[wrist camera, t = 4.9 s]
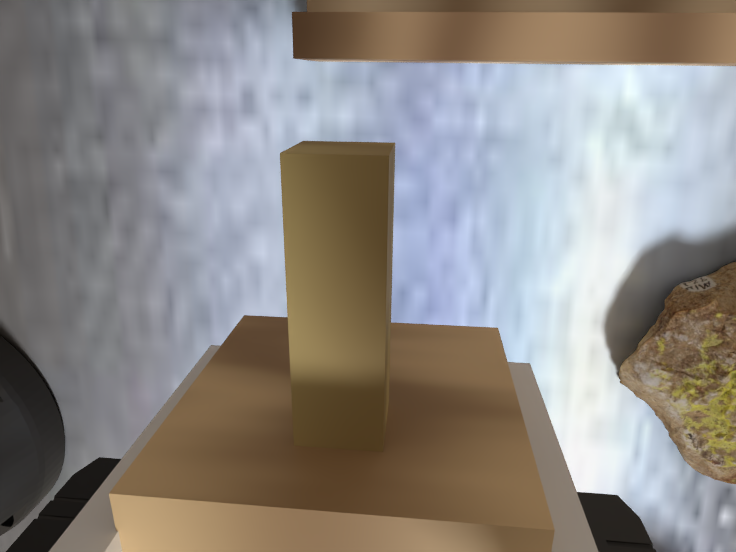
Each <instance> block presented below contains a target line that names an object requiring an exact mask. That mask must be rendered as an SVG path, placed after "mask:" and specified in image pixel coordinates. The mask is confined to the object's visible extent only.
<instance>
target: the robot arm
mask: <svg viewBox="0 0 736 552" xmlns="http://www.w3.org/2000/svg"><path fill="white" fill-rule="evenodd" d="M220 347H221V346H215V345H211V346H210V347H209V348H208V350H207V351H206V352H205V354H204V355H203V356H202V357H201V359H200V360H199V361H198V362H197V364H196V365H195V366H194V368H193V369H192V370H191V371H190V373H189V374H188V375H187V376H186V378H185V379H184V380H183V382H182V383H181V384H180V385H179V387H178V388H177V389H176V390H175V392H174V393H173V394H172V396H171V397H170V398H169V399H168V401H167V402H166V403H165V404H164V406H163V407H162V408H161V410H160V411H159V412H158V413H157V415H156V416H155V417H154V418H153V420H152V421H151V422H150V424H149V425H148V426H147V427H146V429H145V430H144V431H143V432H142V434H141V435H140V436H139V438H138V439H137V440H136V441H135V443H134V444H133V445H132V446H131V448H130V449H129V450H128V451H127V453H126V454H125V455H124V457H123V458H122V459H113V458H100V457H99V458H98V459H96V460H95V461H93V462H92V463H90V464H89V465H87V466H86V467H84V468H83V469H81V470H80V471H78V472H77V473H75V474H74V475H73V476H72V477H71V478H70V479H69V480H68V481H67V483H66V484H65V485H64V486H63V487H62V488H61V489H60V491H59V492H58V493H57V494H56V495H55V496H54V500H53V501H50V502H49V503H48V504H47V505H46V506H45V508H44V509H43V510H42V511H41V512H40V513H39V517H38V519H34V520H33V521H32V522H31V524H30V525H29V526H28V527H27V528H26V529H25V530H24V532H23V533H22V534H21V535H20V536H19V537H18V538H17V540H16V541H15V542H14V543H13V544H12V545H11V546H10V548H9V549H8V550H7V551H6V552H122V548H121V542H120V537H119V532H118V531H116V528H115V523H114V518H113V513H112V508H111V503H110V497H109V493H110V491H111V490H112V489H113V487H114V486H115V485H116V483H117V482H118V481H119V479H120V478H121V477H122V475H123V474H124V473H125V472H126V470H127V469H128V468H129V466H130V465H131V464H132V462H133V461H134V460H135V458H136V457H137V456H138V454H139V453H140V452H141V450H142V449H143V448H144V447H145V445H146V444H147V443H148V441H149V440H150V439H151V437H152V436H153V435H154V433H155V432H156V431H157V429H158V428H159V427H160V426H161V424H162V423H163V422H164V420H165V419H166V418H167V416H168V415H169V414H170V412H171V411H172V410H173V408H174V407H175V406H176V404H177V403H178V402H179V401H180V399H181V398H182V397H183V395H184V394H185V393H186V391H187V390H188V389H189V387H190V386H191V385H192V383H193V382H194V381H195V379H196V378H197V377H198V376H199V374H200V373H201V372H202V370H203V369H204V368H205V366H206V365H207V364H208V362H209V361H210V360H211V358H212V357H213V356H214V354H215V353H216V352H217V351H218V349H219V348H220ZM508 366H509V369H510V373H511V376H512V380H513V383H514V387H515V391H516V394H517V398H518V401H519V405H520V408H521V412H522V415H523V419H524V423H525V426H526V430H527V433H528V437H529V440H530V444H531V447H532V451H533V454H534V458H535V462H536V465H537V469H538V472H539V476H540V479H541V483H542V486H543V490H544V494H545V497H546V501H547V504H548V508H549V511H550V515H551V518H552V522H553V525H554V529H555V532H554V538H553V544H552V551H551V552H656V550H655V549H653V546H652V545H653V544H652V542H651V540H650V538H649V536H648V534H647V532H646V530H645V527H644V525H643V523H642V521H641V519H640V518H639V517H638V516H637V515H636V514H635V513H634V512H633V511H632V510H631V509H630V508H629V507H628V506H627V505H626V504H625V502H624V501H623V500H622V499H621V498H620V497H619V496H618V495H608V494H595V493H582V492H576V489H575V486H574V483H573V481H572V478H571V475H570V472H569V470H568V467H567V464H566V461H565V459H564V456H563V453H562V450H561V448H560V445H559V442H558V439H557V437H556V434H555V431H554V429H553V426H552V423H551V420H550V418H549V415H548V412H547V409H546V407H545V404H544V401H543V398H542V396H541V393H540V390H539V387H538V385H537V382H536V379H535V376H534V374H533V371H532V368H531V365H530V363H514V362H508ZM64 456H65V437H64V430H63V425H62V421H61V417H60V414H59V411H58V409H57V406H56V404H55V402H54V400H53V398H52V395H51V393H50V392H49V390H48V388H47V387H46V385H45V383H44V382H43V380H42V379H41V377H40V376H39V375H38V373H37V372H36V371H35V369H34V368H33V367H32V366H31V365H30V363H29V362H28V361H27V360H26V359H25V358H24V357H23V356H22V355H21V354H20V353H19V352H18V351H17V350H16V349H15V348H14V347H13V346H12V345H11V344H9V343H8V342H7V341H6V340H5V339H3V338H2V337H1V336H0V535H2V534H4V533H5V532H7V531H9V530H10V529H12V528H13V527H15V526H16V525H17V524H18V523H20V522H21V521H22V520H23V519H24V518H25V517H26V516H27V515H28V514H29V513H30V512H31V511H32V510H33V509H34V508H35V507H36V506H37V505H38V503H39V502H40V501H41V500H42V499H43V498H44V497H45V496H46V495H47V494H48V492H49V491H50V490H51V489H52V488H53V486H54V485H55V483H56V481H57V479H58V477H59V475H60V473H61V470H62V466H63V462H64Z"/></svg>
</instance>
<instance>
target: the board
mask: <svg viewBox="0 0 736 552" xmlns="http://www.w3.org/2000/svg"><path fill="white" fill-rule="evenodd" d="M292 27H293V58H295V59H303V60H311V61H331V62H421V63H510V64H600V65H690V66H736V0H307V12H292Z"/></svg>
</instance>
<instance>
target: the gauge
mask: <svg viewBox="0 0 736 552" xmlns="http://www.w3.org/2000/svg"><path fill="white" fill-rule="evenodd" d="M280 165H281V186H282V207H283V228H284V249H285V270H286V292H287V313H288V318H287V317H267V316H246V315H244V316H243V318H242V319H241V320H240V322H239V323H238V324H237V326H236V327H235V328H234V329H233V331H232V332H231V333H230V335H229V336H228V337H227V339H226V340H225V341H224V343H223V344H222V345H221V347H220V348H219V349H218V351H217V352H216V353H215V354H214V356H213V357H212V358H211V360H210V361H209V362H208V364H207V365H206V366H205V368H204V369H203V370H202V372H201V373H200V374H199V376H198V377H197V378H196V379H195V381H194V382H193V383H192V385H191V386H190V387H189V389H188V390H187V391H186V393H185V394H184V395H183V397H182V398H181V399H180V401H179V402H178V403H177V404H176V406H175V407H174V408H173V410H172V411H171V412H170V414H169V415H168V416H167V418H166V419H165V420H164V422H163V423H162V424H161V426H160V427H159V428H158V429H157V431H156V432H155V433H154V435H153V436H152V437H151V439H150V440H149V441H148V443H147V444H146V445H145V447H144V448H143V449H142V450H141V452H140V453H139V454H138V456H137V457H136V458H135V460H134V461H133V462H132V464H131V465H130V466H129V468H128V469H127V470H126V472H125V473H124V474H123V475H122V477H121V478H120V479H119V481H118V482H117V483H116V485H115V486H114V487H113V489H112V490H111V491H110V493H109V497H110V503H111V508H112V513H113V518H114V523H115V528H116V531H118V532H119V537H120V542H121V548H122V552H551V551H552V544H553V538H554V532H555V529H554V525H553V522H552V518H551V515H550V511H549V508H548V504H547V501H546V497H545V494H544V490H543V486H542V483H541V479H540V476H539V472H538V469H537V465H536V462H535V458H534V454H533V451H532V447H531V444H530V440H529V437H528V433H527V430H526V426H525V423H524V419H523V415H522V412H521V408H520V405H519V401H518V398H517V394H516V391H515V387H514V383H513V380H512V376H511V373H510V369H509V366H508V362H507V359H506V355H505V352H504V348H503V344H502V341H501V337H500V334H499V330H498V328H490V327H469V326H449V325H429V324H409V323H391V296H392V254H393V212H394V170H395V143H378V142H326V141H302V142H300V143H298V144H297V145H295V146H293V147H291V148H289V149H287V150H285V151H283V152H282V153H280Z"/></svg>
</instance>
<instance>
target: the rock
mask: <svg viewBox="0 0 736 552" xmlns="http://www.w3.org/2000/svg"><path fill="white" fill-rule="evenodd" d="M664 302H665V308H664V310H663V311H662V313H661V314H660V315H659V316H658V319H657V321H656V323H655V325H653V326H651V327H650V329H649V331H648V333H647V334H646V335H645V336H644V337H643V338H642V340H641V341H640V342H639V343H638V346H637V348H636V351H635V352H634V353H633V354H631V355H630V356H629V357H628V358H627V359H625V360H624V361H623V362H622V365H621V367H620V371H619V376H620V377H619V378H620V383H622V384H623V385H625V386H626V387H628V388H629V389H630V390H631V391H632V392H634V394H635V395H636V396H637V397H638V398H640V399H642V400H644V401H645V402H646V403H647V404H648V405H649V406H650V407H651V408H652V409H653V410H654V411H655V415H656V416H658V417H659V419H660V420H661V421H662V422H663V424H664V425H665V428H666V429H667V430H668V432H669V436H670V438H671V439H672V440H673V442H674V443H675V444H676V445H677V446H678V450H679V452H680V453H681V455H682V457H683V459H684V460H685V461H686V462H687V463H688V464H689V465H690V466H691V467H692V468H693V469H695V470H696V471H698V472H700V473H701V474H703V475H706V476H709V477H711V478H713V479H715V480H720V481H723V482H727V483H731V484H736V262H732V263H730V264H728V265H725V266H723V267H721V268H720V269H719V270H718V271H716V272H714V273H712V274H709V275H707V276H703V277H699V278H696V279H694V280H692V281H689V282H683V283H681V284H679V285H677V286H676V287H674V289H673V290H672V292H671V293H670V294H669V295H668V297H667V298H666V299H665V300H664Z"/></svg>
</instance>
